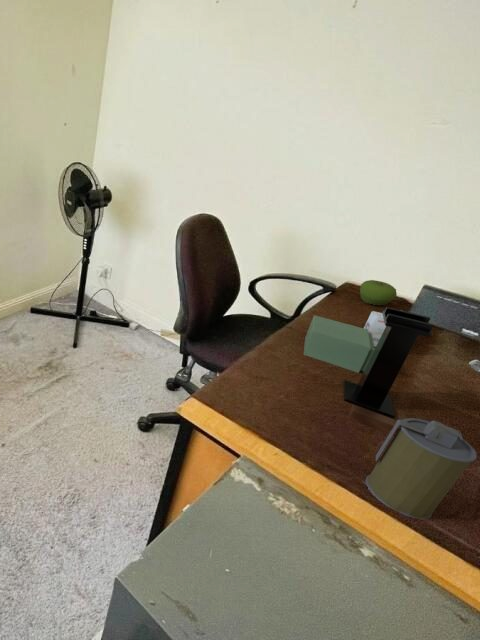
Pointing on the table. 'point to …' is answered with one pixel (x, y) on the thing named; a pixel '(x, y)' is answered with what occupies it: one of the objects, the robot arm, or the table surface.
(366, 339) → the cabinet
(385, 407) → the stand
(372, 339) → the drawer
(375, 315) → the ink box
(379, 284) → the apple
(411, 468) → the canister
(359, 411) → the rod
